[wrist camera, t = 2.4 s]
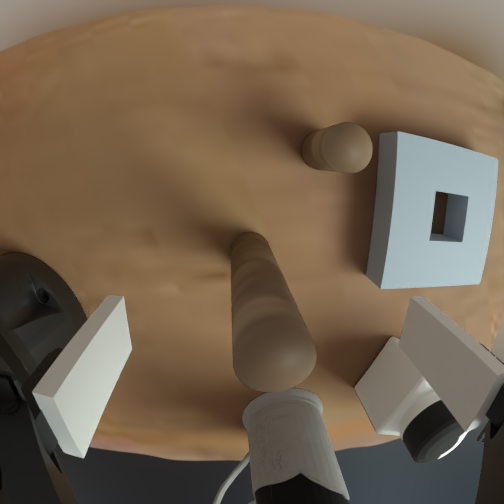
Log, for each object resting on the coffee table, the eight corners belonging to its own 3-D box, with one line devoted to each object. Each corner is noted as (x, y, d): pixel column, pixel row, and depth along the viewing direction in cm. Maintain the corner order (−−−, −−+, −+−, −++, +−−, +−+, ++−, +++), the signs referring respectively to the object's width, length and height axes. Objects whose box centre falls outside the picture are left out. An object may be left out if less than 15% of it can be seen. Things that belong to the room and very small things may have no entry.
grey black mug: (335, 416, 30) (376, 524, 16) (234, 463, 31) (240, 564, 17) (298, 374, 28) (339, 507, 13) (186, 430, 29) (176, 547, 15)
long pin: (230, 269, 24) (232, 393, 11) (231, 231, 23) (233, 326, 10) (268, 269, 24) (310, 390, 11) (270, 232, 23) (322, 325, 10)
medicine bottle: (352, 387, 29) (394, 473, 17) (390, 334, 27) (454, 413, 16) (395, 397, 30) (440, 469, 19) (431, 350, 28) (491, 416, 17)
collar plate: (365, 275, 25) (380, 289, 22) (379, 133, 22) (397, 131, 19) (462, 273, 26) (479, 283, 23) (477, 157, 23) (498, 159, 20)
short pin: (300, 168, 22) (323, 170, 16) (301, 129, 21) (326, 119, 16) (337, 171, 22) (371, 175, 17) (339, 133, 22) (373, 126, 16)
